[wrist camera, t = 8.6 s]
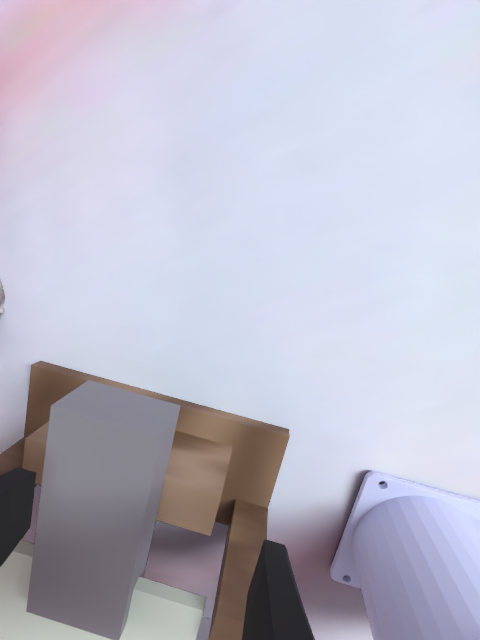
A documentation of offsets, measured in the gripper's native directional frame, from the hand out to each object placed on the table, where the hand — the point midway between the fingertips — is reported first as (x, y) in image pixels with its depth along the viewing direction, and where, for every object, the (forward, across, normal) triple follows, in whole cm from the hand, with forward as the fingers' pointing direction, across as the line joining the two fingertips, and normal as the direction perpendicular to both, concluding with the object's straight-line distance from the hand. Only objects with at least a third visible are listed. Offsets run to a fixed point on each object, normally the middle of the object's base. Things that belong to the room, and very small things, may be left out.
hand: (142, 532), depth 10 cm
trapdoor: (+5, +3, +8) cm, 10 cm away
